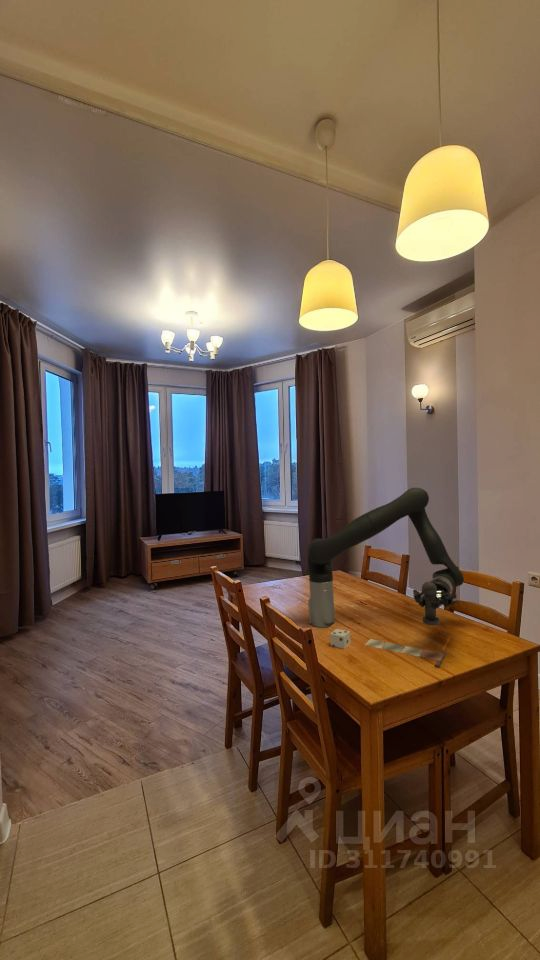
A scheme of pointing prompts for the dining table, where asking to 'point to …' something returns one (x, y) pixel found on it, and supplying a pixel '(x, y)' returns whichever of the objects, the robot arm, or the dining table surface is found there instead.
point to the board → (409, 650)
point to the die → (340, 638)
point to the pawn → (429, 603)
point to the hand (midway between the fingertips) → (428, 604)
